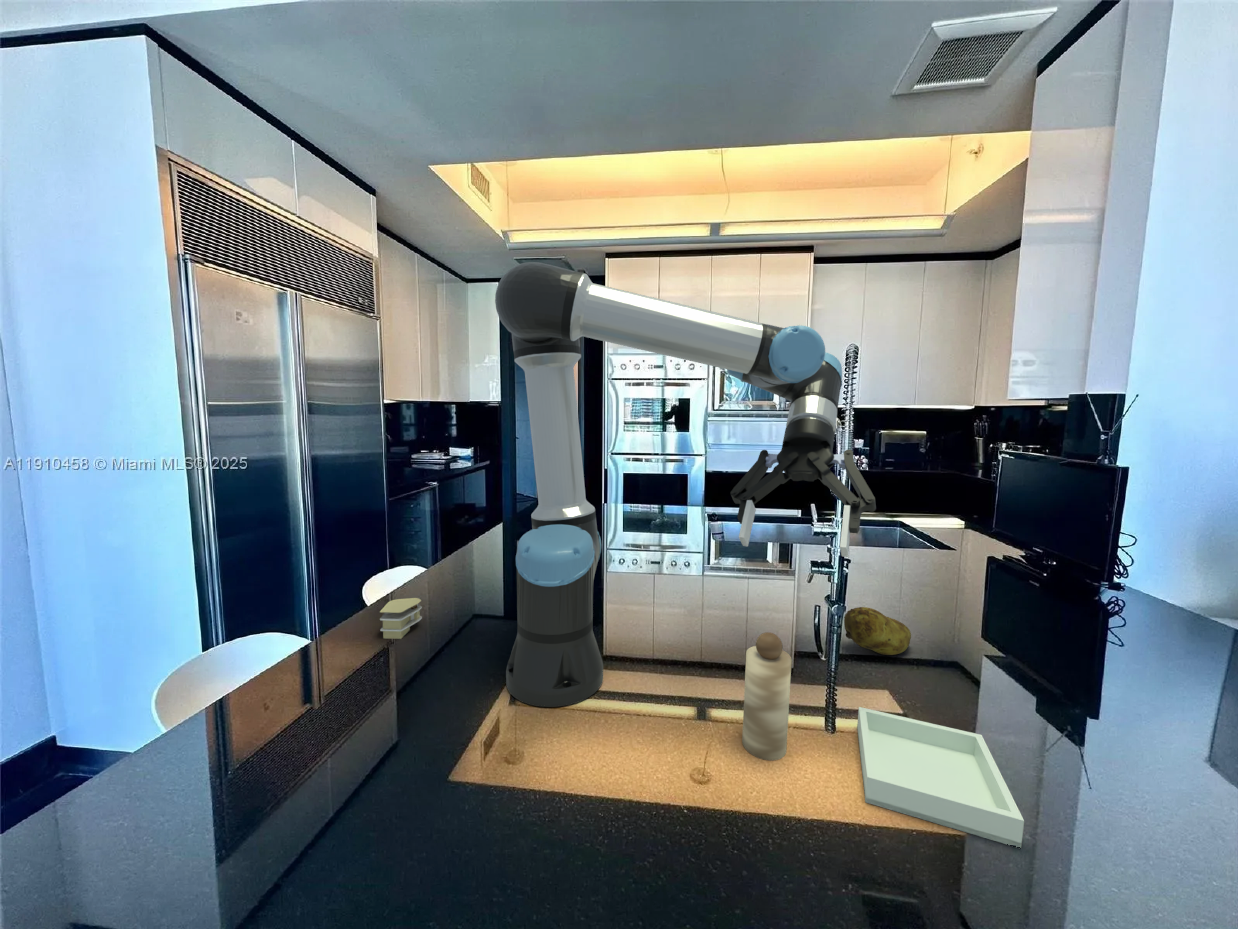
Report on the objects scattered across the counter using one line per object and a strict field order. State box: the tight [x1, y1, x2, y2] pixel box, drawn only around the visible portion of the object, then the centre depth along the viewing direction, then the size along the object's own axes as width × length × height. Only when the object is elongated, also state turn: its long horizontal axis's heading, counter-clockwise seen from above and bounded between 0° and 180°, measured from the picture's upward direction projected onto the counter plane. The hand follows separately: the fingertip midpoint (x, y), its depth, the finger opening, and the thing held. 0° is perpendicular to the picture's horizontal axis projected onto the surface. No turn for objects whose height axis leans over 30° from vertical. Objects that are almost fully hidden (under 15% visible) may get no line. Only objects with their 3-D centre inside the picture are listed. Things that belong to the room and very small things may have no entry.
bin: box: [856, 706, 1025, 849], centre depth 55 cm, size 14×14×3 cm
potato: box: [843, 606, 912, 656], centre depth 85 cm, size 8×13×8 cm, turn 88°
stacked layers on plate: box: [379, 597, 423, 640], centre depth 90 cm, size 10×9×6 cm
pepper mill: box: [741, 631, 792, 761], centre depth 60 cm, size 5×5×15 cm
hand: (790, 547), depth 67 cm, fingers open, 13 cm apart
